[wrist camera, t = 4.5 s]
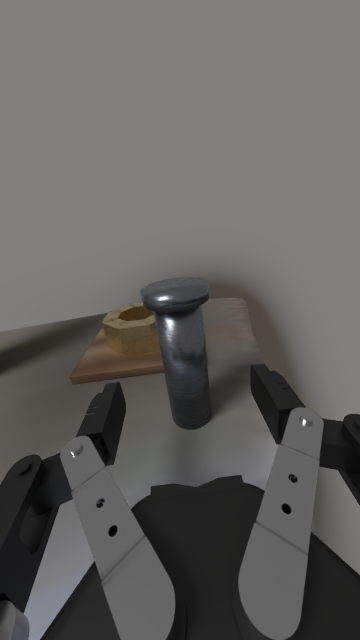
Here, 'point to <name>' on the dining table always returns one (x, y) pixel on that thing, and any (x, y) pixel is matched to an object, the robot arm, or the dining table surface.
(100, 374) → the nut base
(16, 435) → the dining table surface
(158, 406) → the dining table surface
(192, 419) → the steel pin
